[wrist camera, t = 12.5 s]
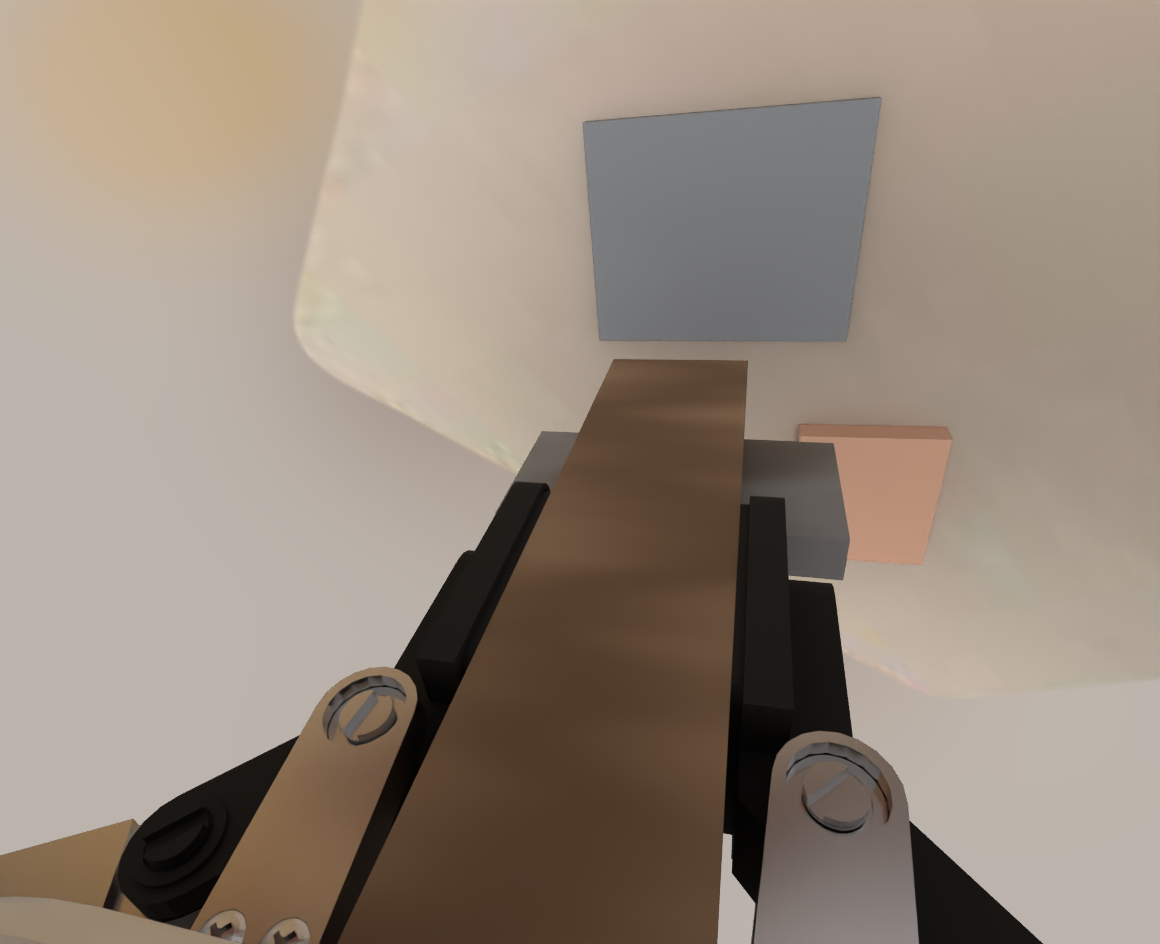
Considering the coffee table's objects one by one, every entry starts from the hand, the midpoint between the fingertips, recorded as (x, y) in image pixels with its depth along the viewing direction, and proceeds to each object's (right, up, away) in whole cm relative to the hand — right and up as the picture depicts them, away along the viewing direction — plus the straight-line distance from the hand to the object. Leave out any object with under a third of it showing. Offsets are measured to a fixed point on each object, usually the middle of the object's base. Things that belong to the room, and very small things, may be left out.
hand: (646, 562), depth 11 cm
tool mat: (+5, +13, +18) cm, 23 cm away
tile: (+14, +4, +21) cm, 26 cm away
